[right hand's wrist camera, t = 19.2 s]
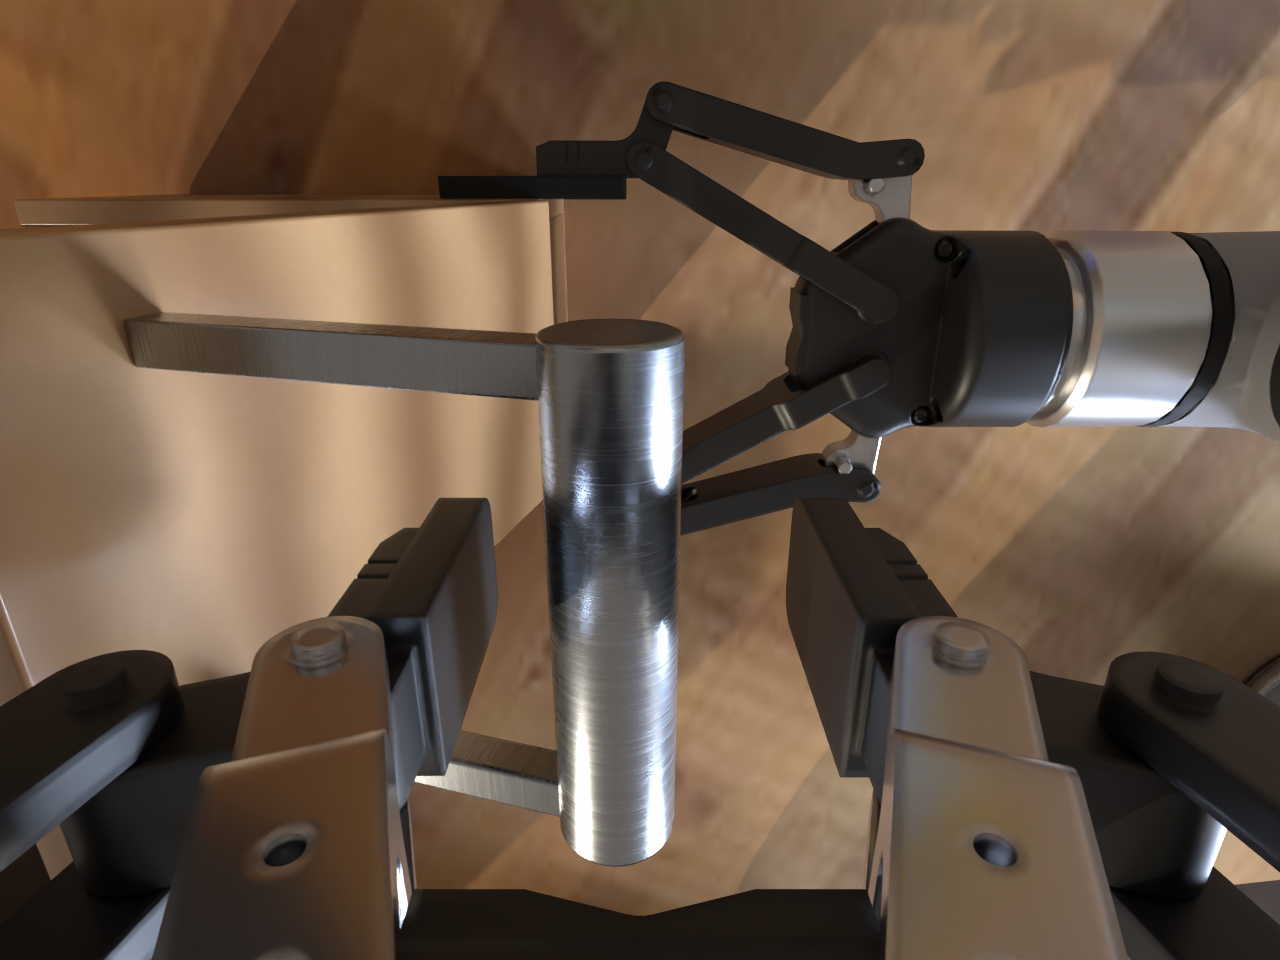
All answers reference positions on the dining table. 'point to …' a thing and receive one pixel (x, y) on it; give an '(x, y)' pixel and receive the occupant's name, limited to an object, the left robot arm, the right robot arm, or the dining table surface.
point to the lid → (342, 465)
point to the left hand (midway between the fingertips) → (461, 331)
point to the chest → (228, 205)
